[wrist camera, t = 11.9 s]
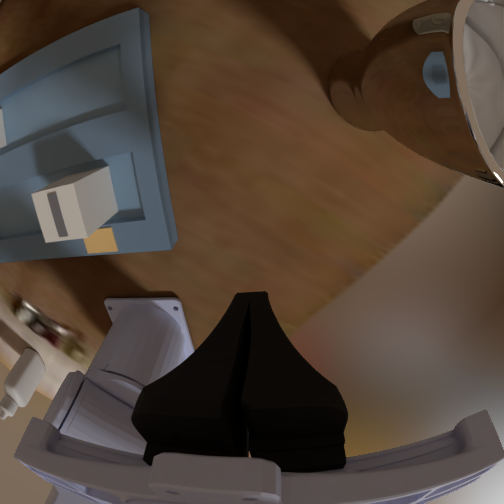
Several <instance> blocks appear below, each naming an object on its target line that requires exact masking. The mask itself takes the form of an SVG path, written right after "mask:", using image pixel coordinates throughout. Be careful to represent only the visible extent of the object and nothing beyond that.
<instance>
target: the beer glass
mask: <svg viewBox="0 0 504 504" xmlns="http://www.w3.org/2000/svg"><path fill="white" fill-rule="evenodd" d="M328 88H329V95H330V99H331V101H332V104H333V106H334V108H335V109H336V111H337V112H338V114H339V115H340V116H341V117H342V118H343V119H344V120H345V121H346V122H348V123H349V124H351V125H352V126H354V127H356V128H359V129H362V130H366V131H383V130H384V131H385V132H386V133H388V134H389V135H390V136H392V137H393V138H394V139H396V140H397V141H398V142H400V143H401V144H403V145H404V146H406V147H407V148H409V149H410V150H412V151H414V152H415V153H417V154H418V155H420V156H422V157H424V158H427V159H429V160H431V161H433V162H435V163H437V164H439V165H441V166H444V167H446V168H449V169H451V170H454V171H456V172H459V173H461V174H464V175H467V176H470V177H473V178H476V179H478V180H481V181H484V182H487V183H490V184H493V185H496V186H499V187H501V188H504V0H426V1H424V2H421V3H419V4H417V5H415V6H413V7H411V8H408V9H407V10H405V11H403V12H402V13H400V14H399V15H397V16H396V17H394V18H393V19H391V20H390V21H389V22H388V23H386V24H385V25H384V26H383V28H382V29H381V30H380V31H379V32H378V33H377V34H376V35H375V36H374V37H373V39H372V40H371V41H370V43H369V44H368V46H367V47H366V48H365V50H362V51H356V52H352V53H349V54H347V55H345V56H343V57H342V58H340V59H339V60H338V61H337V62H336V64H335V65H334V67H333V68H332V70H331V73H330V76H329V83H328Z"/></svg>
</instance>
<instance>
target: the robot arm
mask: <svg viewBox="0 0 504 504" xmlns="http://www.w3.org/2000/svg"><path fill="white" fill-rule="evenodd" d="M104 304H105V307H106V309H107V311H108V314H109V316H110V318H111V321H112V323H113V325H112V326H111V328H110V330H109V332H108V334H107V335H106V337H105V339H104V341H103V343H102V344H101V346H100V348H99V350H98V352H97V354H96V355H95V357H94V359H93V361H92V363H91V365H90V367H89V369H88V371H87V372H86V374H85V375H84V374H83V373H81V372H80V371H76V372H70V373H68V375H67V376H66V378H65V380H64V381H63V383H62V385H61V386H60V388H59V390H58V392H57V394H56V395H55V397H54V399H53V401H52V403H51V405H50V407H49V409H48V411H47V413H46V415H45V417H44V419H43V420H41V419H38V418H35V417H32V418H31V420H30V423H29V424H28V426H27V429H26V431H25V433H24V435H23V437H22V439H21V441H20V443H19V445H18V448H17V450H16V452H15V454H14V457H15V458H16V459H17V460H18V461H19V462H21V463H22V464H23V465H25V466H26V467H27V468H29V469H30V470H31V471H33V472H34V473H36V474H37V475H38V476H40V477H42V478H43V479H44V480H46V481H47V482H49V483H52V484H53V487H52V489H51V492H50V494H49V496H48V498H47V501H46V503H45V504H425V503H427V502H430V501H432V500H435V499H437V498H440V497H442V496H444V495H447V494H449V493H451V492H454V491H456V490H458V489H460V488H462V487H465V486H467V485H469V484H471V483H473V482H475V481H476V480H478V479H479V478H480V477H482V476H483V475H484V474H486V473H487V472H488V471H490V470H491V469H492V468H493V467H495V466H496V465H497V464H498V463H500V462H501V461H502V460H503V459H504V450H503V447H502V445H501V442H500V440H499V437H498V435H497V432H496V430H495V428H494V425H493V423H492V421H491V418H490V416H489V414H488V412H487V410H483V411H481V412H478V413H476V414H473V415H471V416H468V417H466V418H464V419H463V420H461V421H460V422H459V423H458V424H457V425H456V426H455V428H454V430H452V431H449V432H446V433H443V434H441V435H438V436H435V437H432V438H429V439H425V440H422V441H419V442H415V443H412V444H408V445H404V446H400V447H397V448H392V449H389V450H383V451H379V452H374V453H369V454H364V455H359V456H353V457H347V458H346V456H345V449H344V443H345V438H344V430H345V426H346V423H347V420H348V412H347V408H346V405H345V403H344V400H343V398H342V396H341V394H340V392H339V390H338V389H337V387H336V386H335V385H334V384H332V383H331V382H330V381H328V380H327V379H326V378H325V377H323V376H322V375H321V374H320V373H319V372H317V371H316V370H315V369H314V368H313V367H312V366H311V365H310V364H309V363H308V362H307V361H306V360H305V359H304V358H303V357H302V356H301V355H300V353H299V352H298V351H297V350H296V349H295V348H294V346H293V345H292V343H291V342H290V341H289V339H288V338H287V336H286V335H285V333H284V332H283V330H282V328H281V327H280V325H279V323H278V321H277V319H276V317H275V315H274V313H273V311H272V308H271V305H270V302H269V299H268V293H267V292H265V291H263V292H246V293H237V294H236V295H235V297H234V299H233V300H232V302H231V304H230V306H229V307H228V309H227V311H226V312H225V314H224V315H223V317H222V318H221V320H220V321H219V323H218V324H217V326H216V327H215V328H214V330H213V331H212V332H211V334H210V335H209V336H208V337H207V338H206V340H205V341H204V342H203V343H202V344H201V345H200V346H199V347H198V348H197V349H196V350H194V347H193V344H192V340H191V337H190V333H189V330H188V327H187V323H186V320H185V316H184V312H183V309H182V305H181V302H180V300H179V299H178V298H175V297H170V298H107V299H106V300H105V301H104ZM174 306H176V307H178V308H175V307H174ZM111 307H112V308H111ZM249 451H250V454H251V458H249Z"/></svg>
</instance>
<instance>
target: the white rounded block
mask: <svg viewBox="0 0 504 504" xmlns="http://www.w3.org/2000/svg"><path fill="white" fill-rule="evenodd" d="M44 374H45V365H44V363H43V361H42V359H41V357H40V356H39V354H38V353H37V352H35V351H33V350H31V349H30V348H26V349H25V351H24V352H23V354H22V355H21V356H20V358H19V359H18V361H17V362H16V364H15V365H14V367H13V368H12V370H11V372H10V373H9V375H8V376H7V378H6V380H5V382H4V390H5V395H6V396H4V398H3V399H2V401H1V403H0V408H1V414H0V418H1V419H2V420H4V419H5V418H6V417H7V416H11V417H13V415H14V413H15V411H16V409H17V407H18V406H19V407H25V406H26V405H27V403H28V402H29V400H30V398H31V396H32V395H33V393H34V391H35V389H36V388H37V386H38V384H39V383H40V381H41V379H42V377H43V376H44Z"/></svg>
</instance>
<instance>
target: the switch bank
mask: <svg viewBox="0 0 504 504" xmlns="http://www.w3.org/2000/svg"><path fill="white" fill-rule="evenodd" d="M0 109H2V110H3V120H4V128H5V136H6V142H7V146H5V147H3V148H1V149H0V263H3V262H16V261H28V260H40V259H53V258H66V257H79V256H92V255H106V254H119V253H133V252H147V251H161V250H172V248H173V246H174V245H175V243H176V241H177V239H178V235H177V230H176V225H175V220H174V215H173V209H172V204H171V198H170V193H169V187H168V181H167V175H166V169H165V163H164V156H163V149H162V143H161V135H160V128H159V121H158V113H157V104H156V96H155V86H154V76H153V65H152V54H151V40H150V24H149V14H148V13H146V12H145V11H143V10H142V9H141V8H139V7H138V8H135V9H132V10H129V11H126V12H123V13H120V14H117V15H114V16H112V17H109V18H106V19H104V20H101V21H99V22H96V23H94V24H91V25H89V26H87V27H84V28H82V29H80V30H78V31H75V32H73V33H71V34H69V35H67V36H65V37H63V38H61V39H59V40H57V41H55V42H53V43H51V44H49V45H47V46H45V47H44V48H42V49H40V50H38V51H36V52H35V53H33V54H31V55H30V56H28V57H26V58H25V59H23V60H21V61H20V62H18V63H17V64H15V65H14V66H12V67H11V68H9V69H8V70H6V71H5V72H3V73H2V74H0ZM105 166H109V170H110V175H111V180H112V185H113V189H114V194H115V198H116V203H117V207H118V212H117V213H116V214H115V215H113V216H112V217H111V218H110V219H109V220H107V221H106V222H105V223H104V224H103V225H102V226H101V227H99V228H98V229H97V230H96V231H95V232H94V233H93V234H92V235H90V236H89V237H88V238H81V239H73V240H64V241H56V242H48V243H46V242H45V239H44V236H43V233H42V230H41V226H40V223H39V220H38V216H37V213H36V209H35V206H34V202H33V198H32V193H34V192H36V191H38V190H40V189H42V188H44V187H46V186H47V185H49V184H51V183H53V182H55V181H57V180H60V179H62V178H64V177H66V176H68V175H71V174H75V173H79V172H83V171H87V170H92V169H96V168H100V167H105Z"/></svg>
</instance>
